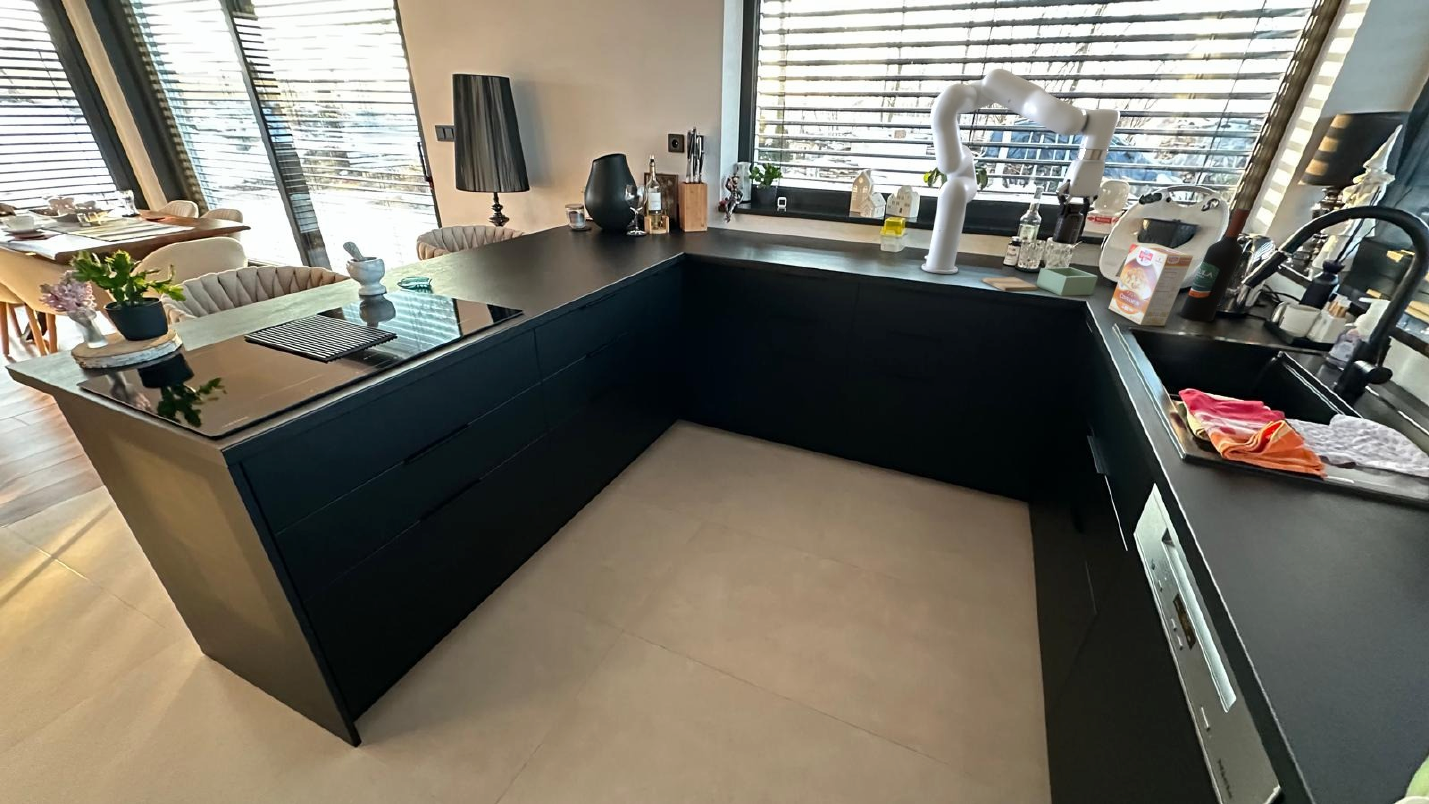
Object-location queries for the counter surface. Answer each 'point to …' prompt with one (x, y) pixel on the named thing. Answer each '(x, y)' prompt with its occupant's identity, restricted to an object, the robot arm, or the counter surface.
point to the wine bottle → (1215, 272)
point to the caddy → (1066, 281)
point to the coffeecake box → (1149, 283)
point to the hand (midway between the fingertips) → (1071, 217)
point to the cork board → (1010, 284)
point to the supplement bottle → (1069, 224)
